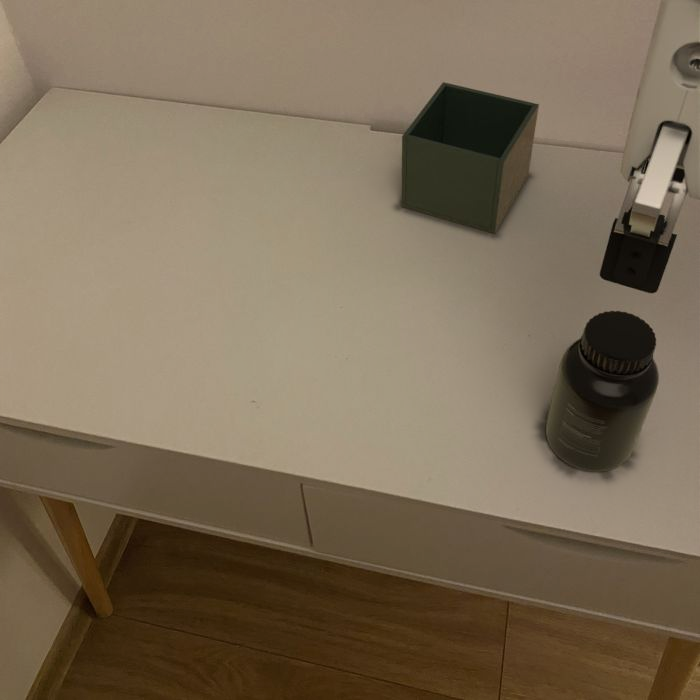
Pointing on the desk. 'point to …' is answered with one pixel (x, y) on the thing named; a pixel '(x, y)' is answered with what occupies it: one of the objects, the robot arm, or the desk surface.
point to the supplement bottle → (603, 392)
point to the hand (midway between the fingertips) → (649, 229)
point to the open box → (467, 156)
